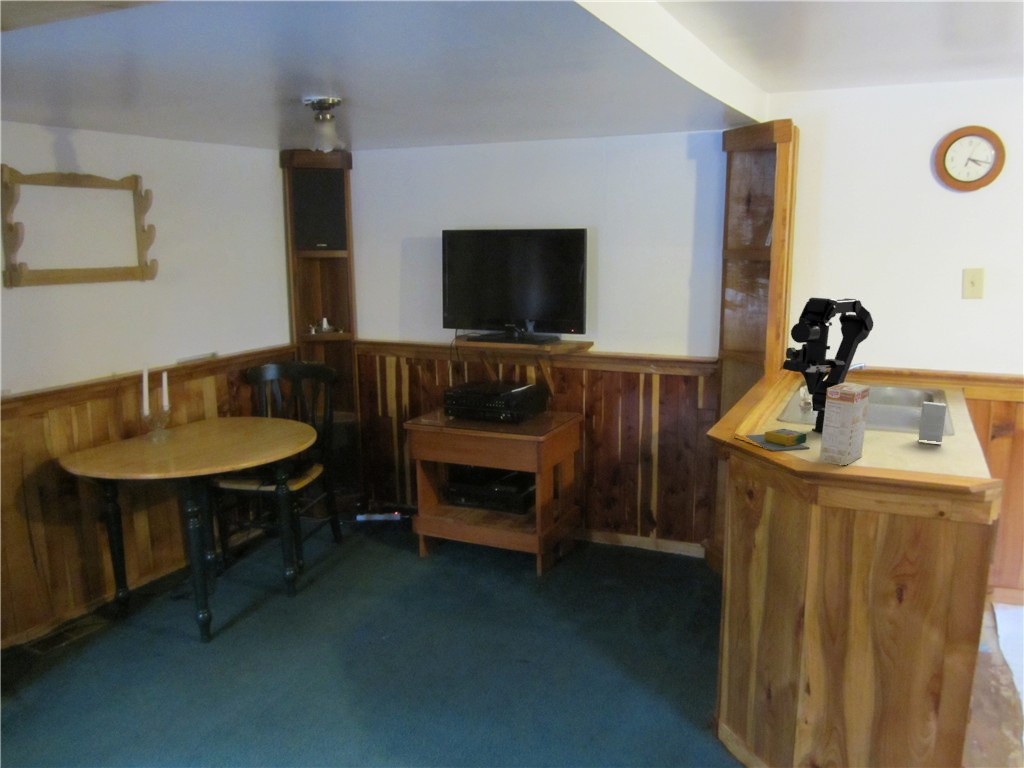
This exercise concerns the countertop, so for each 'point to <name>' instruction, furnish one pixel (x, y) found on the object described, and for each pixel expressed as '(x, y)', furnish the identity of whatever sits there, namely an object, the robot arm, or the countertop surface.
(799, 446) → the mat
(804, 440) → the crayon box
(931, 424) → the skincare box
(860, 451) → the coffeecake box
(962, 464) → the countertop surface
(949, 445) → the countertop surface
